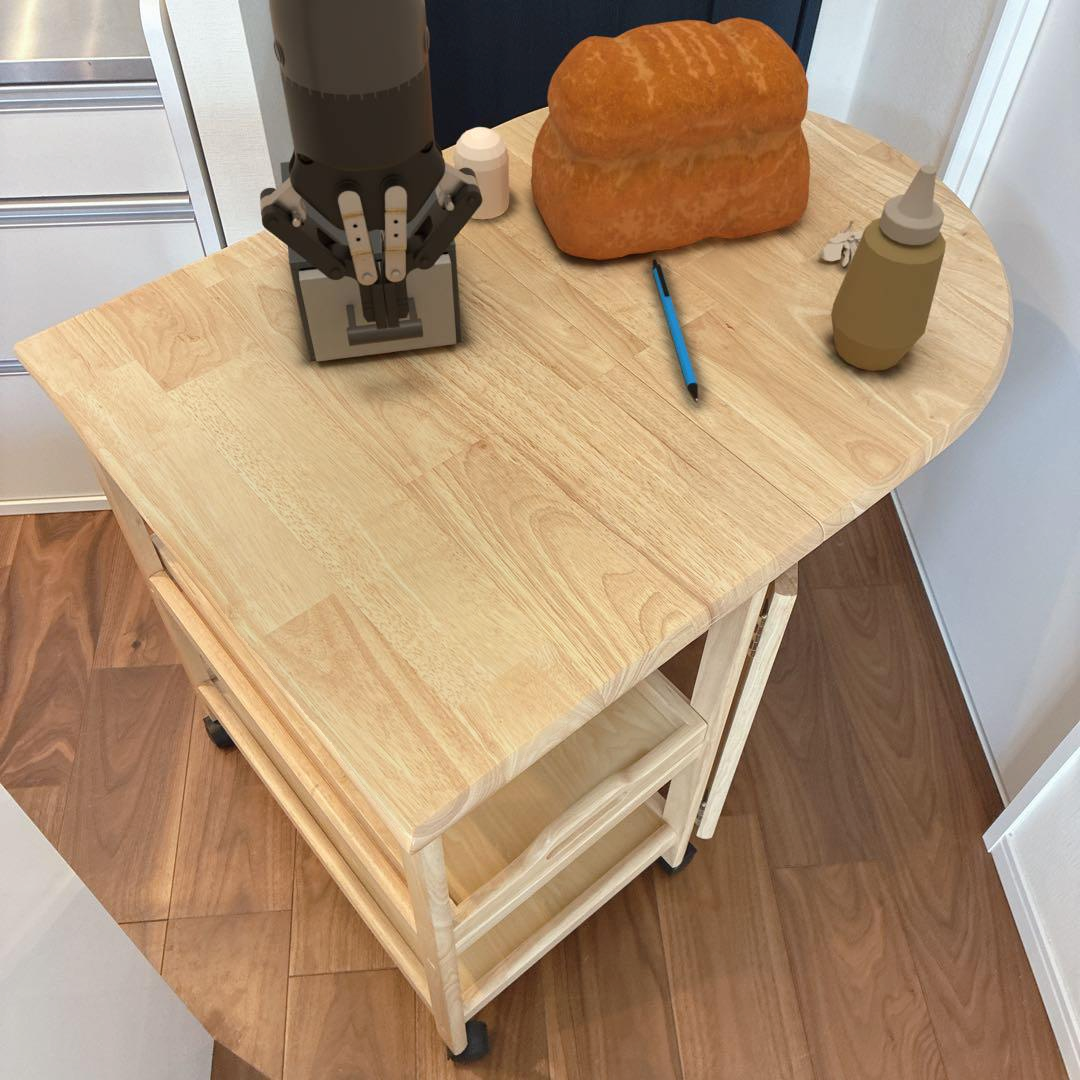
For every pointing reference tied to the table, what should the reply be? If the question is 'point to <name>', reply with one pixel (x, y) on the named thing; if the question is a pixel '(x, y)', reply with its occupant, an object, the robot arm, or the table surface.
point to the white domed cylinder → (486, 168)
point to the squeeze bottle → (891, 279)
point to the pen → (675, 330)
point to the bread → (672, 139)
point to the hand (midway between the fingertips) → (386, 320)
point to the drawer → (351, 335)
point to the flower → (836, 245)
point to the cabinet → (301, 264)
